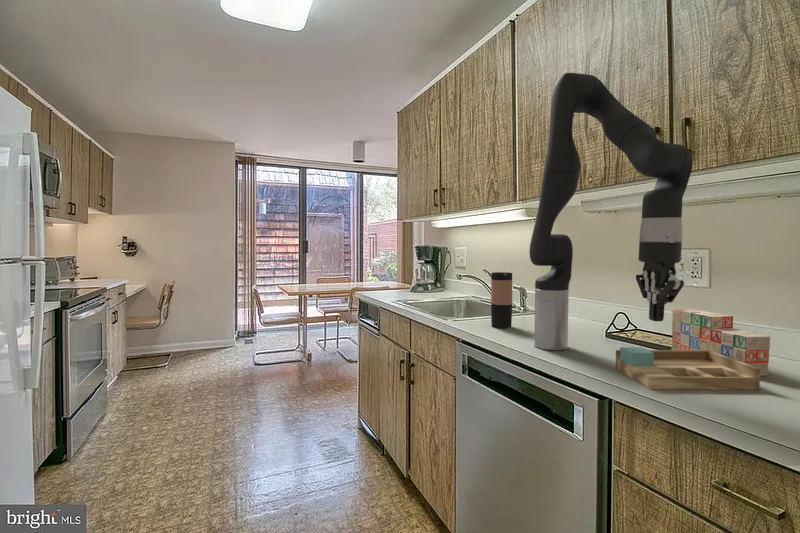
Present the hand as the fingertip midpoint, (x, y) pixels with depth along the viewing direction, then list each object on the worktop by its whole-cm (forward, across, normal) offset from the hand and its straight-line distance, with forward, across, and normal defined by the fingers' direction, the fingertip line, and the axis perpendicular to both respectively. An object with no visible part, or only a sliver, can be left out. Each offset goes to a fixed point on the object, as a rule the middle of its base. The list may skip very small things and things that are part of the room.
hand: (656, 320), depth 84 cm
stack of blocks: (+14, -15, +25) cm, 33 cm away
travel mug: (+16, -60, -19) cm, 64 cm away
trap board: (+14, -3, +8) cm, 16 cm away
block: (+11, -6, 0) cm, 13 cm away
